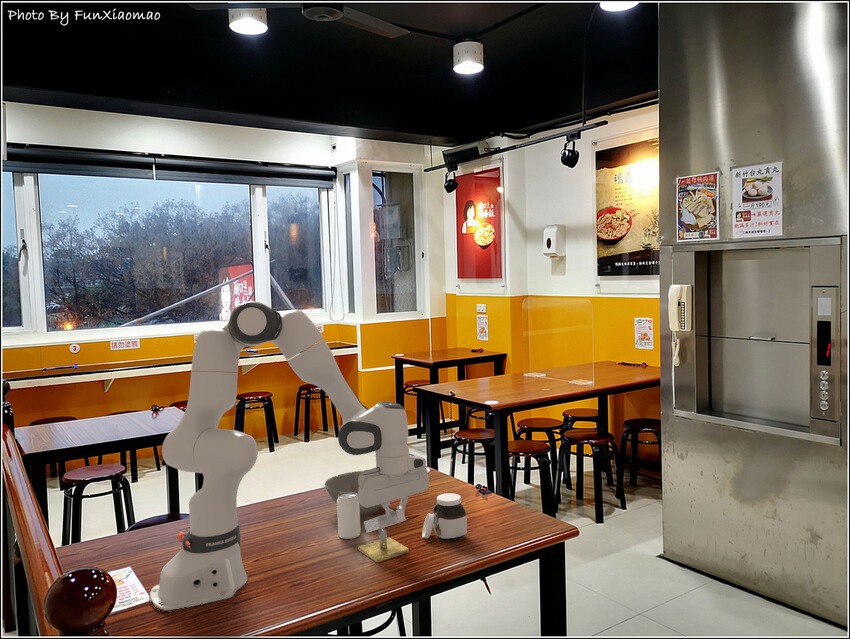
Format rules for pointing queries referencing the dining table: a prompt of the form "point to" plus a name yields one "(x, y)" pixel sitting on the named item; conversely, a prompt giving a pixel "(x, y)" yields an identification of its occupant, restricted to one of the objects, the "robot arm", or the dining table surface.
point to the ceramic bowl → (348, 489)
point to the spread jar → (447, 519)
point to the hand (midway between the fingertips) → (395, 515)
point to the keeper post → (383, 548)
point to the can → (348, 515)
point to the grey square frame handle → (384, 521)
